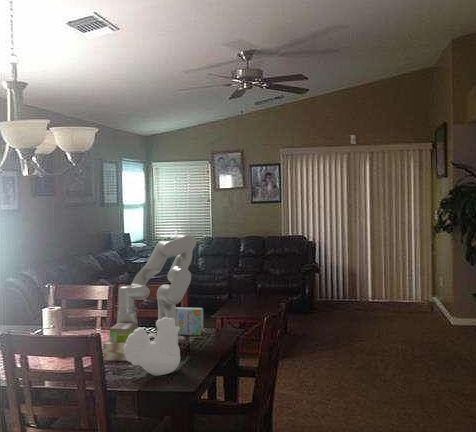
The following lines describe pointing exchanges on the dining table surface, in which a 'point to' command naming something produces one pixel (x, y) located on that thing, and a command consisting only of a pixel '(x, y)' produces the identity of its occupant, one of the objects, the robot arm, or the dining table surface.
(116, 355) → the maple board
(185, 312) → the snack box
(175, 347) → the decorative rooster
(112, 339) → the tea box
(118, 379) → the dining table surface
